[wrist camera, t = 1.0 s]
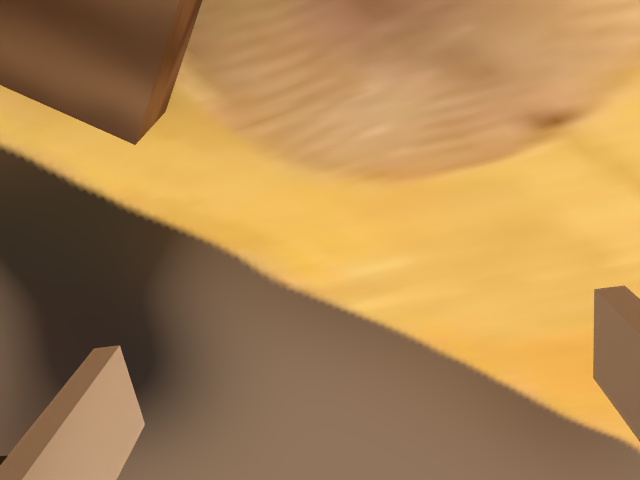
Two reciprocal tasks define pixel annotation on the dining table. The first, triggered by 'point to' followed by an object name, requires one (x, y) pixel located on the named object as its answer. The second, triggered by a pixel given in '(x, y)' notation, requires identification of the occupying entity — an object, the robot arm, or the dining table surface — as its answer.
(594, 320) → the robot arm
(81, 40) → the walnut block
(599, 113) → the dining table surface
